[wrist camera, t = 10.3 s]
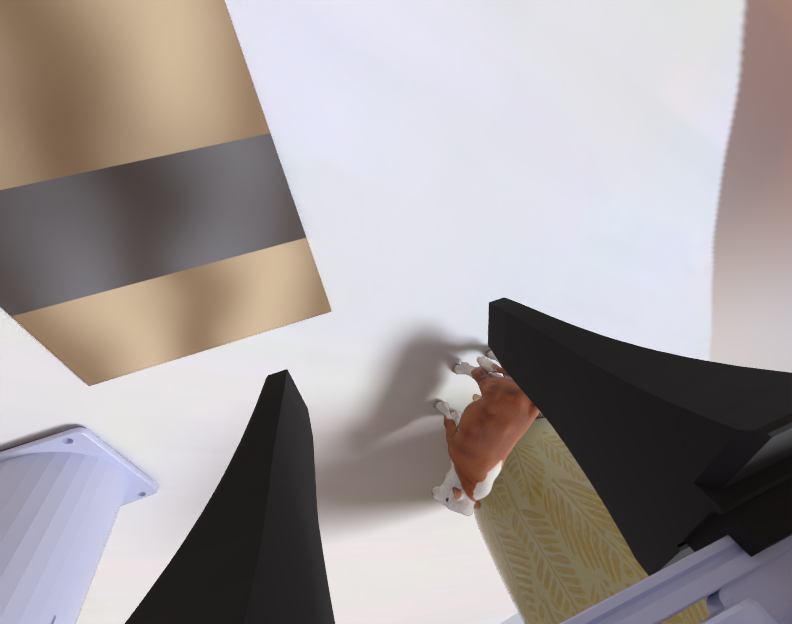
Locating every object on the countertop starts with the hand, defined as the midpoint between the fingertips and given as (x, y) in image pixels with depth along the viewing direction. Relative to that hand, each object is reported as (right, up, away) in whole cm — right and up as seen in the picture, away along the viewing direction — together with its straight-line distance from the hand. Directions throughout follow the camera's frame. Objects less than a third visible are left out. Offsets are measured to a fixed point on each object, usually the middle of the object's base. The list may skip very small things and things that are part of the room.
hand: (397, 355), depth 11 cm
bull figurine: (+5, -6, +18) cm, 20 cm away
